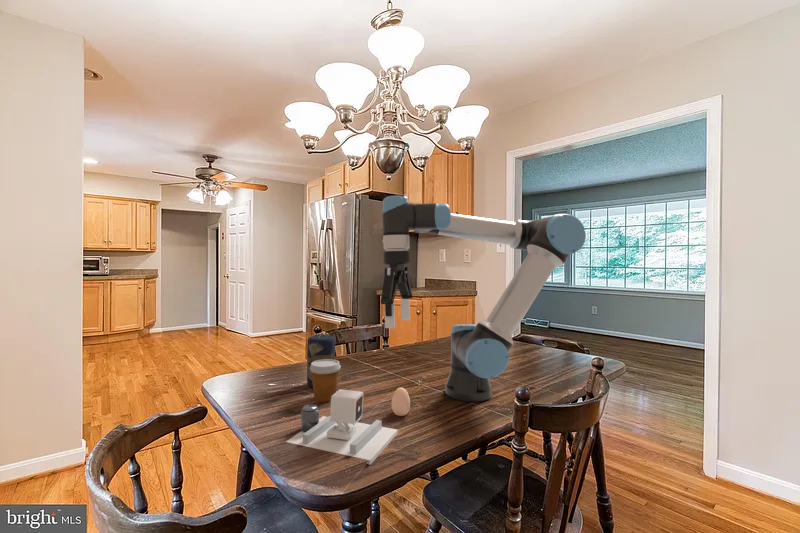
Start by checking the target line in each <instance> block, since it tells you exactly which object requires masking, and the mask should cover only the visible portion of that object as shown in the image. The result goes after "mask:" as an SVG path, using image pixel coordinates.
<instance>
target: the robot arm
mask: <svg viewBox="0 0 800 533" xmlns="http://www.w3.org/2000/svg"><path fill="white" fill-rule="evenodd" d="M381 215H382V235H383V236H382V237H383V239H382V240H381V242H382V244H383V250H384V252H383V264H384V265H389V267H384V278H383V284H382V290H381V291H382V292H381V298H380V304H381V305H384V328H385V329H396V307H395V306H396V304H395V302H394V301H395V296H396V293H397V288H398V290H399V294H400V296H401V298H400V321H411V306H410V305H411V302H410V299H413V293H412V287H411V286H412V285H411V282H410V277H409V276H410V275H409V267H408V266H405V265H409V264H410V260H411V259H410V256H411V254H410V253H411V252H410V251H409V250H410V249H411V248H410V230H413V231H414V232H415V233H417V234H421V235H423V234H429V235H436V236H438V235H439V236H445V237H452V238H460V239H466V240H473V241H481V242H486V243H494V244H503V245H508V246H510V248H511V249H515V250H522V251H526V252H527V255H526V256H525V258H524V260H523V261H522V263H521V264H520V266H519V268H518V269H517V271H516V273H515V274H514V276H513V278H512V279H511V280H510V282H509V283H508V285H507V287H506V288H505V289H504V291H503V293H502V294H501V296H500V297H499V299H498V301H497V302H496V303H495V305H494V307H493V309H491V311H490V314H488V316H487V317H486V319H485V320H481V321H478V323H477V324H474V323H473V324H472V323H471V324H454V325H452V327H451V332H450V370H449V374H448V376H447V380H446V383H445V386H444V388H445V389H444V390H445V395H447V396H448V397H450V398H451V399H454V400H458V401H461V402H462V401H463V402H482V401H487V400H490V399H491V397H493V396H492V392H493V390H492V385H491V382H490V379H492V378H496V377H498V376H500V375H501V374H502V373H503V372H504V371H505V370H506V369H507V367H508V365H509V361H510V358H509V357H510V356H509V351H510V350H511V348H512V346H514V341H513V335H514V333H515V331H516V330H517V328H518V327H519V325H520V324H521V322H522V321H523V319H524V317H525V315H526V314H527V312H528V311H529V309H530V307H531V306H532V304H534V302H535V300H536V298H537V297H538V296H539V294H540V291H541V290H542V289H543V287H544V285H545V284H546V282H547V280H548V279H549V278H550V276H551V274H552V272H553V271H554V270H555V269H556V268H560V267H563V266H564V264H565V263H566V261H567V259H568V258H569V257H570V255H572V254H575V253H578V251H580V250H581V249H582V248H583V246H584V245H585V242H586V237H587V235H586V229H585V226H584V224H583V223H582V221H581V220H580V219H579V218H577V216H575V215H572V214H570V213H569V214H568V213H557V214H554V215H552V216H548V217H542V218H539V219H531V220H523V219H515V220H514V221H507V220H501V219H500V220H498V219H494V218H487V217H486V218H485V217H481V216H480V217H479V216H473V215H466V214H465V215H464V214H459V213H458V214H457V213H452V212H451V208H450V205H449V204H448V203H440V202H436V203H432V202H431V203H411V202H410V201H409V198H408V197H407V196H406V195H390V196H386V197H384V198H383V200H382V214H381Z"/></svg>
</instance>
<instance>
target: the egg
mask: <svg viewBox="0 0 800 533" xmlns="http://www.w3.org/2000/svg"><path fill="white" fill-rule="evenodd" d="M410 408H411V398H410V396H409V393H408V390H406V388H404V387H398V388H397V389H395V391H394V392H393V395H392V397H391V409H392V412H393V414H394V415H396V416H400V417H402V416H403V417H404V416H406V415H407V414H408V413H409V411H410Z"/></svg>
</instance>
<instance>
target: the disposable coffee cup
mask: <svg viewBox="0 0 800 533" xmlns="http://www.w3.org/2000/svg"><path fill="white" fill-rule="evenodd" d="M341 368H342V366H341V364H340V361H339V360H336V359H335V360H331V359H324V360H317V361H314V362H312V363H311V366H310V371H311V374H312V382H313V387H312V390H313V398H314V401H315V402H319V403H327V402H331V397H332V395H333V394H335V393H336V392H337V391H338V382H339V374H340V369H341Z"/></svg>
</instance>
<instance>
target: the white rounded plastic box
mask: <svg viewBox="0 0 800 533" xmlns="http://www.w3.org/2000/svg"><path fill="white" fill-rule="evenodd" d="M363 408H364V392H363V391H358V390H348V389H342V388H341V389H337V391H336V393H335V394H333V395H332V397H331V401H330V412H329V416H330V422H332V421H333V422H336V423H335V424H334V425H333V426H332V428H330V429H329V430H328V431H327V437H330V438H337V439H344V440H349V438H350V437H351V436H352V435H353V434H354V432H355V427H356V426H352V425H349V424H353V425H355V424H356V423H357V422H358V423H359V421H360V420H361V419H362V417H363V411H364V410H363ZM342 423H343V424H342Z"/></svg>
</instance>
